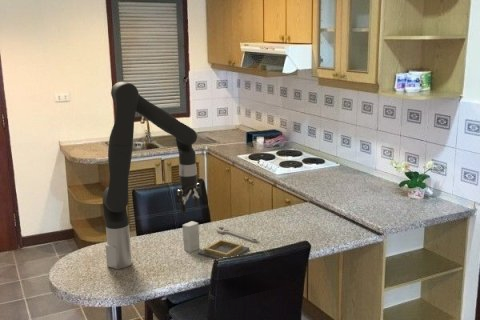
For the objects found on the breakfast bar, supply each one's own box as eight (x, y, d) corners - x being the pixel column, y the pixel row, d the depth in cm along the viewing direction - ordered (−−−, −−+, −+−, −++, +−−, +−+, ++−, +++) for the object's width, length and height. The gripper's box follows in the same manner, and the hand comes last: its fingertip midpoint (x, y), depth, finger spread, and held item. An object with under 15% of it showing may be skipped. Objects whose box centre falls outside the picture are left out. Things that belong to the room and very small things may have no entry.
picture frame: (227, 262, 215) (227, 257, 215) (197, 254, 224) (197, 249, 223) (249, 249, 228) (249, 244, 227) (220, 242, 237) (219, 237, 236)
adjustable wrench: (259, 242, 237) (259, 239, 237) (248, 246, 233) (248, 243, 232) (223, 228, 255) (223, 225, 255) (213, 231, 251) (213, 228, 250)
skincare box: (193, 246, 233) (191, 220, 231) (199, 248, 231) (198, 222, 228) (183, 250, 229) (182, 224, 226) (190, 252, 226) (189, 226, 223)
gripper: (183, 178, 214) (185, 215, 218) (205, 170, 225) (206, 206, 229) (170, 176, 218) (172, 212, 222) (192, 168, 230) (193, 203, 233)
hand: (189, 209), depth 226 cm, fingers open, 8 cm apart
